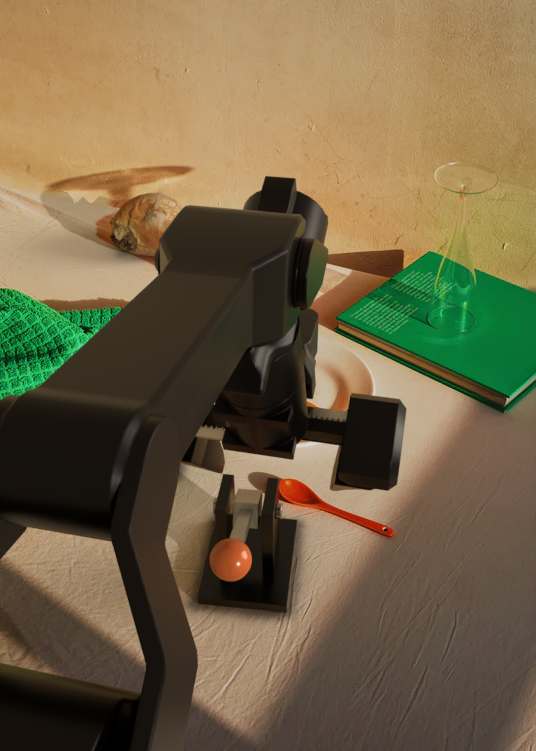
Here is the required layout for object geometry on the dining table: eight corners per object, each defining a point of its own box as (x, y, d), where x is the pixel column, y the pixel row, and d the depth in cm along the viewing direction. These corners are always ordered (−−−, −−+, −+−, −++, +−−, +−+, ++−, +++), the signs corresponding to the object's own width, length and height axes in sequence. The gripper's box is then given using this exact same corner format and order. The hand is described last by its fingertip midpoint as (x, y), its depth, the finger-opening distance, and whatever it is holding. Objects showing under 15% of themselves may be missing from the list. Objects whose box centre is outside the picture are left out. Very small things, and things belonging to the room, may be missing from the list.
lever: (248, 591, 55) (249, 552, 54) (205, 587, 55) (206, 548, 54) (267, 519, 66) (268, 486, 65) (232, 516, 66) (232, 483, 66)
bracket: (286, 613, 65) (287, 543, 59) (197, 604, 65) (189, 534, 60) (297, 526, 73) (298, 457, 67) (217, 519, 73) (212, 450, 68)
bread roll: (181, 281, 119) (208, 229, 115) (106, 255, 113) (130, 199, 109) (172, 246, 129) (196, 197, 124) (101, 221, 123) (124, 168, 118)
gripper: (422, 285, 48) (405, 405, 61) (152, 257, 51) (191, 377, 65) (404, 434, 42) (390, 531, 55) (101, 392, 46) (155, 493, 59)
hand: (277, 476), depth 59 cm, fingers open, 9 cm apart
